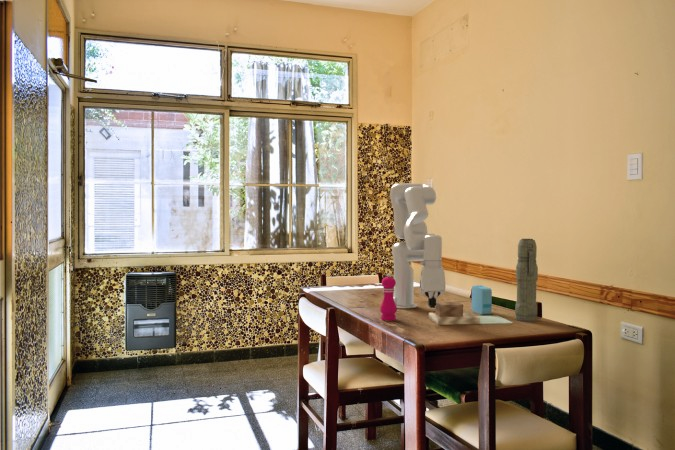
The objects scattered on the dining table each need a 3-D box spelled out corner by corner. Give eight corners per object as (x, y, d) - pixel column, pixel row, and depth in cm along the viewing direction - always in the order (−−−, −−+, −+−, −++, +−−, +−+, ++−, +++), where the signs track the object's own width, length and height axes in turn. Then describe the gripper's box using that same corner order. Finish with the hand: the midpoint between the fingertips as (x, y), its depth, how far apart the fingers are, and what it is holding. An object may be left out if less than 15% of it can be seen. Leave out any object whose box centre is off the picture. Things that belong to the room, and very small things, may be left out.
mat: (480, 324, 226) (480, 323, 226) (467, 317, 241) (467, 316, 241) (512, 323, 228) (512, 322, 228) (498, 316, 242) (498, 315, 242)
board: (437, 324, 225) (437, 318, 225) (428, 318, 238) (428, 312, 238) (479, 323, 227) (479, 317, 227) (468, 317, 240) (468, 311, 240)
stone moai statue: (523, 323, 229) (524, 239, 228) (510, 317, 240) (511, 238, 239) (542, 322, 230) (544, 239, 229) (529, 317, 242) (530, 238, 241)
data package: (491, 315, 246) (492, 288, 246) (482, 315, 245) (482, 288, 245) (480, 310, 258) (480, 285, 257) (471, 310, 257) (471, 285, 257)
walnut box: (439, 316, 228) (439, 305, 228) (435, 314, 234) (435, 302, 234) (463, 316, 229) (463, 304, 229) (458, 313, 236) (458, 302, 235)
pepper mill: (398, 318, 237) (398, 272, 237) (394, 321, 230) (395, 274, 230) (382, 317, 240) (382, 271, 239) (378, 320, 233) (378, 273, 232)
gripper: (417, 265, 226) (417, 309, 226) (452, 265, 228) (452, 308, 228) (413, 263, 233) (412, 306, 234) (446, 263, 235) (446, 305, 235)
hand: (432, 307), depth 231 cm, fingers closed
